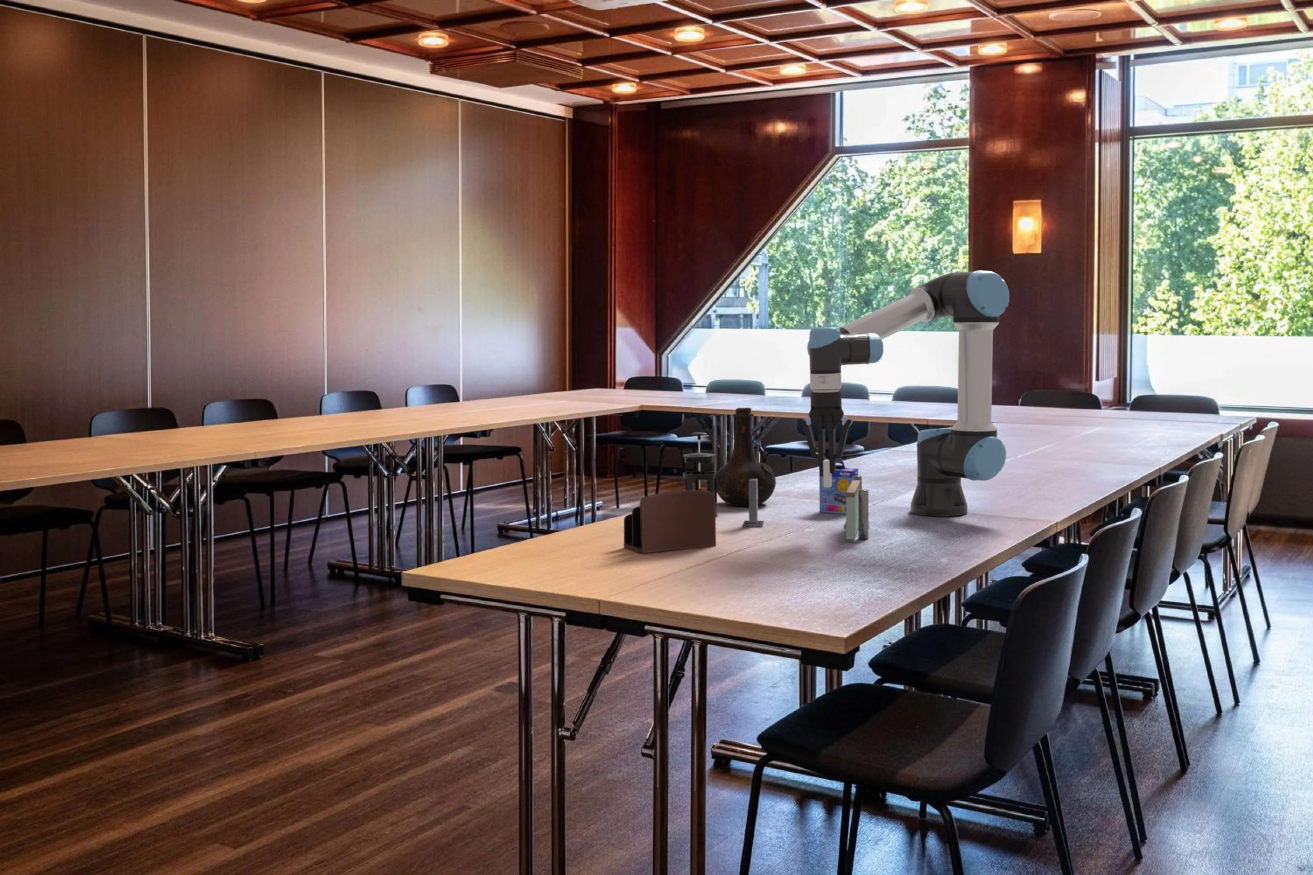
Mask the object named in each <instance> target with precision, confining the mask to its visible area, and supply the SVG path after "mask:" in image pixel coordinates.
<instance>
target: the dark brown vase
mask: <svg viewBox="0 0 1313 875" xmlns="http://www.w3.org/2000/svg"><path fill="white" fill-rule="evenodd" d="M751 411H752V408H751V407H737V408H736V409H735V413H734V414H732V417H735V428H734V429H735V430H734V442H733V449H732V453H731V457H730V459H729V461H728V462H727V463H725V464H724V465H723V466H721V467H720V468H719V469H718V470H717V471H716V472H717V496H718V497H719V498H720V499H721V500H722V501H724V503H726V504H728V505H730V506H735V507H749V479H757V484H758V506H759V505H762V504H764V503H765V502H767V501H768V500H769V499H770V497H771V496H772V495H773V493H774V491H775V489H776V484H777V481H776V476H775V473H774V470H773V469H772V467H771V466H770V465H768V464H766V463H763V462H759V461H758V460H757V457H756V455H755V449H754V442H753V432H752V431H753V430H752V417H753V416H755V415H754V413H752V412H751Z"/></svg>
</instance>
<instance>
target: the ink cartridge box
mask: <svg viewBox="0 0 1313 875" xmlns="http://www.w3.org/2000/svg"><path fill="white" fill-rule="evenodd" d="M818 472H819V471H818ZM818 474H819V477H818V479H819V480H818V481H819V484H818V485H819V513H824V514H825V513H827V514H839V515H840V514H843V515H846V492H847V490H848V488H849V486H850V484H851V482H852V476H859V468H858V467H857V468H855V467H846V465H845V462H844V460H836V471H835V473H832V486H831V487H824V478H823V473H820V472H819V473H818Z"/></svg>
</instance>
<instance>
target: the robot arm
mask: <svg viewBox="0 0 1313 875" xmlns="http://www.w3.org/2000/svg"><path fill="white" fill-rule="evenodd" d="M1008 287H1009V286H1008V285H1007V282H1006V281H1005V280H1004V279H1003V278H1002V277H1001V275H1000V274H998V273H996V272H993V271H991V270H990V271H989V270H974V271H971V270H970V271H962V272H961V271H959V272H958V271H957V272H950V273H949V272H948V273H946V274H942V275H940V276H938V277H935V278H934V279H931V280H929V281H927V282H925V283H923V284H921V285H919V286H917V287H915V288H912V289H911V290H910V291H909V295H906V296H905V297H902V298H900V299H898V300H896V301H892V302H891V303H889V304H887V305H885V306H882V307H881V308H878V309H876V310H874V311H872V312H869V313H868V314H865V315H864V316H862V317H859V318H857V319H855V320H852V321H851V322H849V323H846V324H844V325H842V326H840V327H838V326H829V327H828V326H827V327H823V326H822V327H814V328H812V329H811V330H809V337H808V338H809V339H808V342H807V347H806V348H807V354H808V355H809V356H808V357H809V387H810V388H809V389H810V390H811V391H810V392H811V393H810V409H809V412H808V415H807V416H806V417H804V418H803V419H801V420H799V424H800V425H801V426H802V428H803V429H804V432H805V433H804V434H805V437H806V440H807V444H808V449H809V453H810V455H811V458H812V459H817V460H818V472H820V473H823V478H824V487H831V486H832V473H835V471H836V465H837V463H836V461H837V460H838V459H840V458H842V457H843V456H844V453H845V452H844V451H845V448H846V444H847V438H848V434H849V430H850V427H851V426H852V424H853V422H854V420H853V418H849V417H848V416H846V415H845V413H844V410H843V408H842V406H843V405H842V403H843V402H842V392H841V391H840V390H841V389H842V366H849V365H850V366H851V365H869V364H875V363H878V362H879V361H881V359H882V358H883V355H884V343H883V339H885V338H888V337H890V336H893V335H894V334H896V333H898V332H900V331H903V330H905V329H907V328H909V327H911V326H913V325H915V324H917V323H920V322H923V323H929V322H931V321H933V320H935V319H939V318H941V319H942V318H946V317H951V318H952V323H953V325H954V327H956V328H957V330H958V356H957V357H958V363H957V364H958V366H957V367H958V368H957V370H958V371H957V374H958V375H957V421H956V422H955V424H954V425H953V426H952V427H945V428H943V427H942V428H932V429H931V428H929V429H923V430H920V431H919V432H918V434H917V442H916V464H917V465H916V470H917V471H916V473H917V474H916V477H917V478H916V486H915V490H914V493H913V496H912V498H911V502H910V512H911V513H912V514H915V515H922V516H929V517H953V516H954V517H955V516H962V515H966V514H968V503H967V499H966V495H965V493H964V490H963V486H962V479H967V480H970V481H972V482H973V481H975V482H976V481H979V482H980V481H982V482H983V481H984V482H985V481H989V480H992V479H994V478H995V477H997V475H998V474H999V473H1000V472H1002V469H1003V468H1004V465H1005V463H1006V459H1007V450H1006V446H1005V445H1004V444H1003V441H1002V440H1001V439H1000V438H998V428H997V427H996V426H995V425H994V423H993V422H992V406H993V405H992V402H993V399H992V397H993V395H992V394H993V355H994V354H993V347H994V346H993V345H994V344H993V343H994V342H993V341H994V340H993V339H994V330H995V328H996V327H997V326H998V325H999V324H1000V316H1001V315H1002V314H1003V313H1005V311H1006V308H1008V307H1009V303H1010V291H1009V288H1008ZM840 422H841V425H842V429H841V431H840V438H839V441H838V442H839V443H838V446H836V429H837V428H836V427H837V426H838V425H839V424H840ZM812 423H813V424H814V425H815V427H816V428H817V443H818V444H816V441H815V438H814V434H813V433H814V432H813V428H812V426H811V425H812ZM826 429H827V433H828V435H827V436H828V459H826V458H827V457H826ZM817 445H818V448H817ZM836 447H837V448H836Z"/></svg>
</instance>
